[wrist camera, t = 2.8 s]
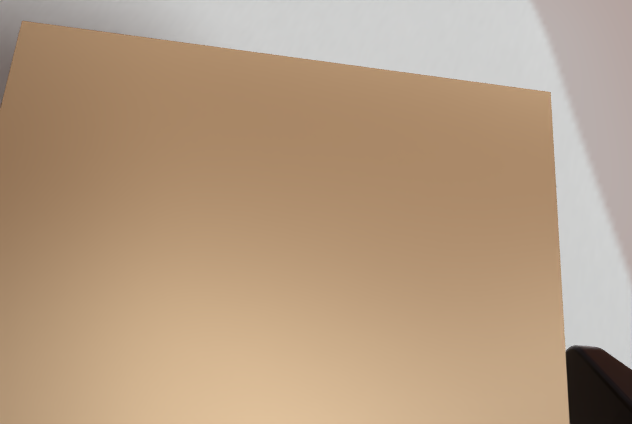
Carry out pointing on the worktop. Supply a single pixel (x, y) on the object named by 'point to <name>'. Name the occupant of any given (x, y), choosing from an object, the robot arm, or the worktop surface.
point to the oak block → (271, 240)
